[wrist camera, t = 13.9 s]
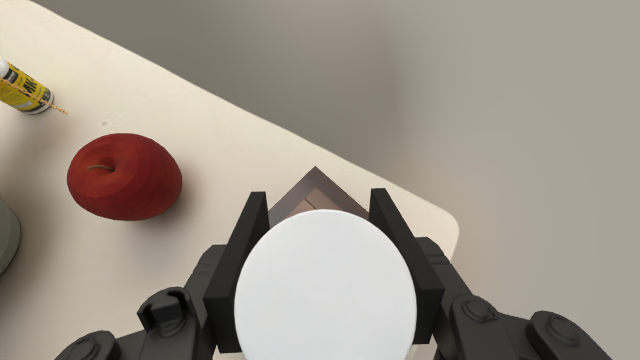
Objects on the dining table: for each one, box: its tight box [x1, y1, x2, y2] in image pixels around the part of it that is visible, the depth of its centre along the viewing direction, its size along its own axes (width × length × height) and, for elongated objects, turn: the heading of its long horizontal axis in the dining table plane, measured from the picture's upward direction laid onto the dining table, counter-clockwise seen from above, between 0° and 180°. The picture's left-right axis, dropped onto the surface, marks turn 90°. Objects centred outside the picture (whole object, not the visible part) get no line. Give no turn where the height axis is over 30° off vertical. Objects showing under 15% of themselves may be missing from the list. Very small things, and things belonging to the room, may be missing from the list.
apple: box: [67, 133, 182, 221], centre depth 28 cm, size 10×10×10 cm
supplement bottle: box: [0, 58, 53, 114], centre depth 33 cm, size 5×5×8 cm
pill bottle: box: [234, 209, 417, 360], centre depth 11 cm, size 6×6×10 cm
